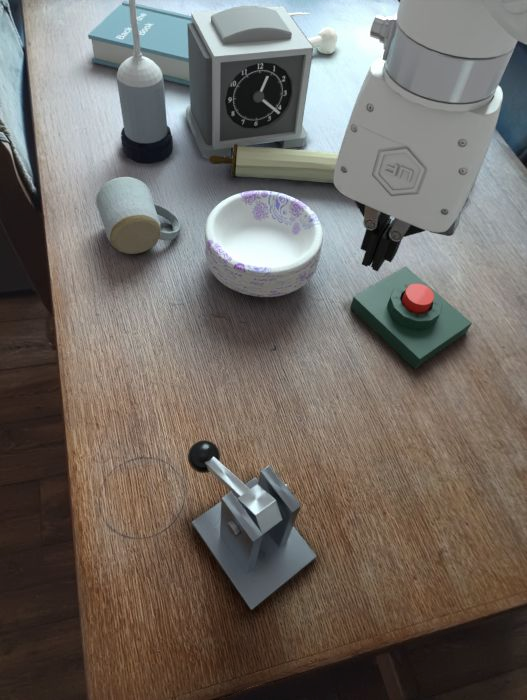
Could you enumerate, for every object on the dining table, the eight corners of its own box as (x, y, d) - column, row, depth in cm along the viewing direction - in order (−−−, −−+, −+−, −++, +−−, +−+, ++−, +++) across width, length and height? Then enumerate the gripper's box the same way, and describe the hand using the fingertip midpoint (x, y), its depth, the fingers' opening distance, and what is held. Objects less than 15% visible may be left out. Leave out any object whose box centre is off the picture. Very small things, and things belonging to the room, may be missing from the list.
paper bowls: (195, 303, 71) (193, 260, 65) (216, 225, 80) (217, 180, 74) (309, 321, 71) (319, 280, 64) (319, 241, 80) (328, 197, 73)
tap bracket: (191, 525, 55) (186, 481, 45) (254, 480, 58) (263, 431, 48) (250, 612, 51) (259, 584, 41) (315, 559, 54) (337, 522, 44)
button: (435, 305, 69) (440, 297, 68) (416, 318, 68) (420, 309, 67) (415, 288, 71) (419, 279, 69) (395, 300, 69) (399, 290, 68)
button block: (465, 333, 72) (477, 314, 69) (414, 369, 68) (424, 351, 65) (401, 277, 77) (409, 256, 74) (349, 307, 73) (356, 287, 70)
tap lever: (188, 469, 55) (178, 446, 54) (214, 452, 56) (204, 429, 55) (258, 542, 45) (248, 515, 44) (288, 519, 46) (279, 493, 45)
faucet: (328, 75, 116) (349, 26, 109) (264, 64, 105) (283, 9, 99) (317, 66, 118) (337, 17, 111) (253, 55, 107) (271, 0, 100)
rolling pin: (405, 179, 90) (414, 153, 86) (409, 202, 86) (418, 175, 82) (211, 160, 89) (210, 133, 85) (207, 182, 85) (206, 155, 81)
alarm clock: (203, 159, 89) (201, 43, 74) (184, 114, 96) (179, 0, 81) (308, 145, 93) (326, 33, 78) (282, 102, 100) (294, -8, 85)
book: (92, 62, 103) (88, 34, 99) (129, 25, 112) (126, -2, 108) (205, 89, 101) (204, 62, 97) (233, 49, 110) (233, 23, 106)
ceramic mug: (113, 263, 74) (105, 220, 68) (100, 223, 78) (91, 179, 72) (188, 247, 77) (187, 204, 71) (171, 210, 81) (169, 166, 75)
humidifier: (172, 133, 92) (160, -37, 72) (173, 163, 88) (161, -9, 67) (123, 133, 91) (97, -39, 71) (121, 164, 86) (93, -11, 66)
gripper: (317, 44, 35) (285, 250, 50) (545, 126, 31) (437, 321, 46) (364, 3, 39) (321, 205, 54) (571, 72, 35) (464, 268, 50)
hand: (375, 258), depth 50 cm, fingers closed
